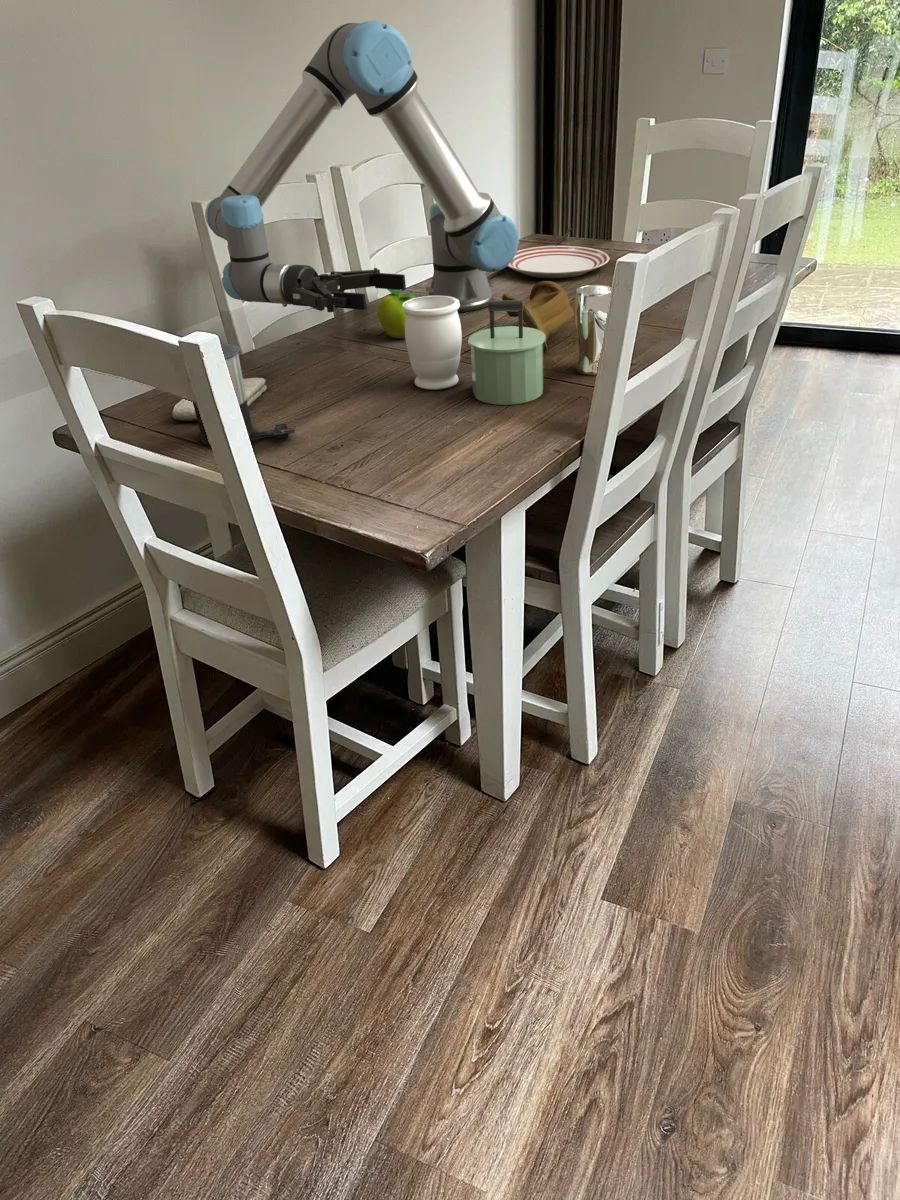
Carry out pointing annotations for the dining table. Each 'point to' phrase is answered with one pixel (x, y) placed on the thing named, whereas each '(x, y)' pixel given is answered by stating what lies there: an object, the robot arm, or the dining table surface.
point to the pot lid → (506, 332)
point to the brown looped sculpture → (545, 308)
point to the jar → (433, 340)
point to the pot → (507, 376)
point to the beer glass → (591, 325)
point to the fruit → (393, 313)
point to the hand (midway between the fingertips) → (385, 291)
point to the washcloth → (252, 391)
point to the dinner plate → (557, 261)
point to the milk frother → (242, 399)
